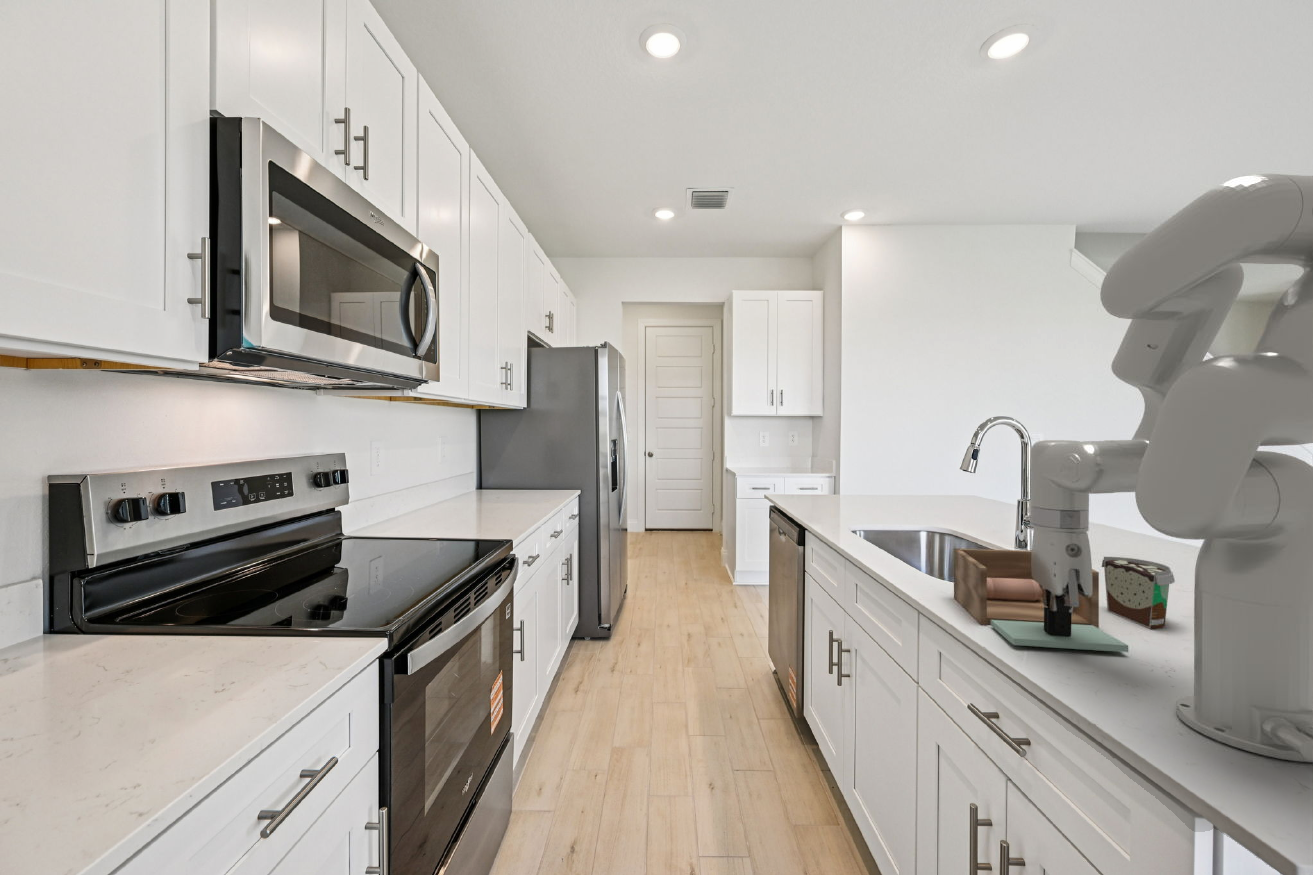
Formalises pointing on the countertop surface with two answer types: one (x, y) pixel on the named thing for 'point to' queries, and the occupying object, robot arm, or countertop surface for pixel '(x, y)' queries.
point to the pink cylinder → (1013, 589)
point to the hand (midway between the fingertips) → (1057, 633)
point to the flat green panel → (1079, 638)
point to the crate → (1017, 565)
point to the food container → (1137, 590)
